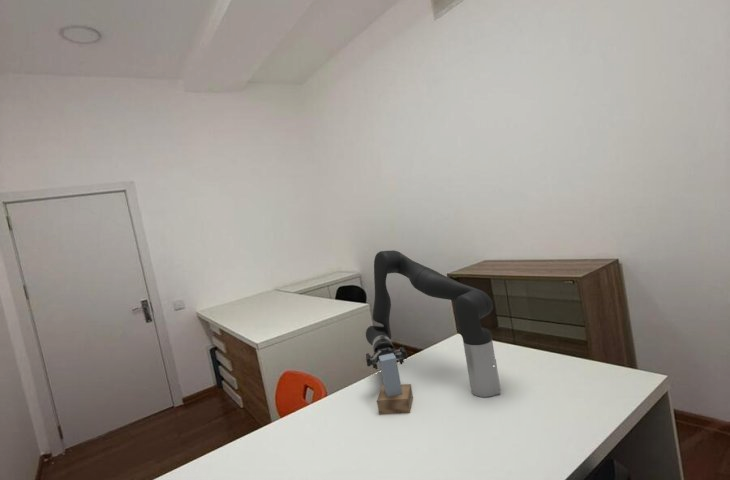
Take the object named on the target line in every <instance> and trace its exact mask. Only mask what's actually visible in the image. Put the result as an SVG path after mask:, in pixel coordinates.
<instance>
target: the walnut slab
mask: <svg viewBox="0 0 730 480" xmlns="http://www.w3.org/2000/svg"><path fill="white" fill-rule="evenodd" d="M401 389H402V394H400V395H395V396H391V397H387V395H386V392H385V389H384V385H382V386H381V388H380V391H379V393H378V395H377V399H376V404H377V410H378V414H379V416H381V415H395V414H399V415H400V414H410V413H411V412H412V411H411V410H412V405H413V400H414V396H413V390H412V384H410V383H407V384H401Z"/></svg>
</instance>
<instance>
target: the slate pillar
mask: <svg viewBox="0 0 730 480" xmlns="http://www.w3.org/2000/svg"><path fill="white" fill-rule="evenodd" d="M379 361H380V364H379V366H380V372H381V377H382V382H383V386H384V389H385V392H386V395H387V397H391V396H395V395H400V394H402V389H401V385H402V384H401V383H402V382H401V378H400V373H399V367H398V362H397V361H398V360H396V357H395V355H394V354H393V353H391V354H386V355H382V356H379Z"/></svg>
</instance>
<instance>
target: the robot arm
mask: <svg viewBox="0 0 730 480" xmlns="http://www.w3.org/2000/svg"><path fill="white" fill-rule="evenodd" d="M373 273H374V274H373V276H374V279H373V280H374V303H373V309H372V310H373V311H372V320H373V321H374V322H376V323H378V324H381V326H379V325H370V326H368V327H367V328H366V330H365V337H366V341H367V342H368V344H370V346H372V350H373V354H370V353H366V354H365V360H366V361H365V362H366V366H367V367H371V366H372V368H373V369H375V370H378V365H380V361H379V356H382V355H386V354H391V353H393V354H394V355H395V357H396V360H397V361H398V362H399V364H400V365H403V363H405V360H408V354H407V350H406V349H405V348H404V346H400V347H399V349H396V348H395V347H394V345H393V342H392V332H391V324H390V314H391V310H392V309H391V308H392V301H391V300H392V299H391V296H390V294H389V291H388V288H387V276H388V274H400V275H402V276H404V277H406V278H407V279H408V280H409V282H410V283H411V285H412V286H413V288H415V289H416V290H417V291H419V292H420V293H422V294H424V295H426V296H429V297H432V298H437V299H443V300H449V301H453V302H454V305H453V306H454V313H455V319H456V323H457V328H458V331H459V334H460V336H461V338H462V342H463V347H464V348H463V349H464V353H465V355H464V356H465V361H466V367H467V374H468V380H469V386H470V392H471V394H473V395H474V396H476V397H479V398H490V397H493V396H496V395H497V396H498V395H501V384H500V378H499V377H500V376H499V371H498V370H499V369H498V365H497V359H496V356H495V349H494V348H495V347H494V342H493V336H492V332H491V330H490V329H488V328H485V327H482V323H481V319H483V318H485V317H487V316H488V315H490V314H491V313H492V311H493V309H494V304H493V300H492V298H491V297H490V296H489V295H488V294H487V292H484V290H481V289H478V288H476V287H473V286H471V285H467V284H464V283H461V282H458V280H455V279H452V278H451V277H448V276H446V275H445V274H442V273H440V272H438V271H436V270H434V269H432V268H430V267H428V266H426V265H423V264H421V263H419V262H417V261H414V260H412V259H410V258H409V257H408V256H406V255H405V254H403V253H402V252H400V251H397V250H381V251H378V252H377V253H376V255H375V256H374V261H373Z"/></svg>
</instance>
